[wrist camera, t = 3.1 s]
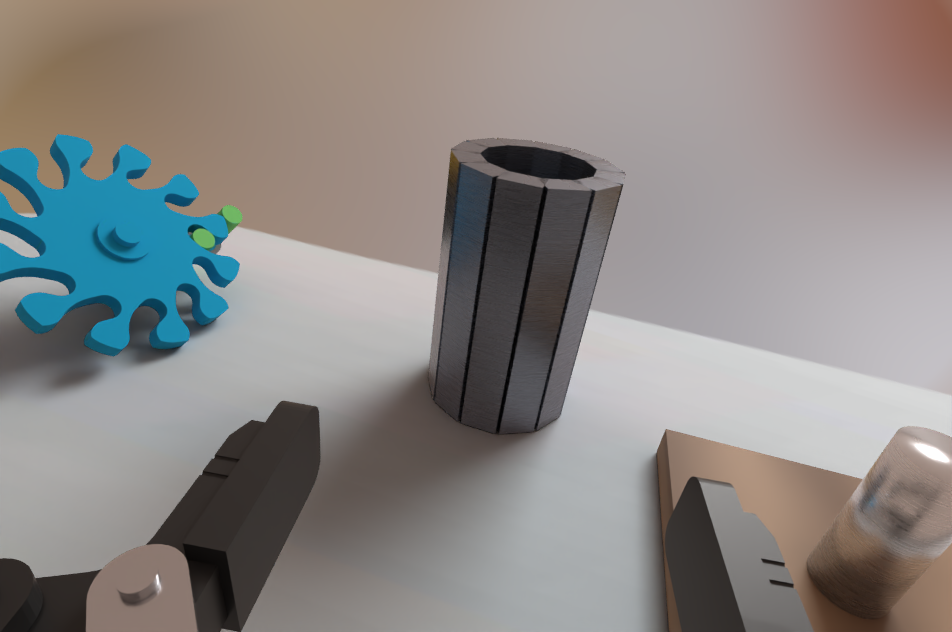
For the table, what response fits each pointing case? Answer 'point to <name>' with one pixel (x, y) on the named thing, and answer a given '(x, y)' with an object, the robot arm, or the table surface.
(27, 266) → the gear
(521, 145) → the sleeve
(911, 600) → the base plate
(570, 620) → the table surface
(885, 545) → the shaft
